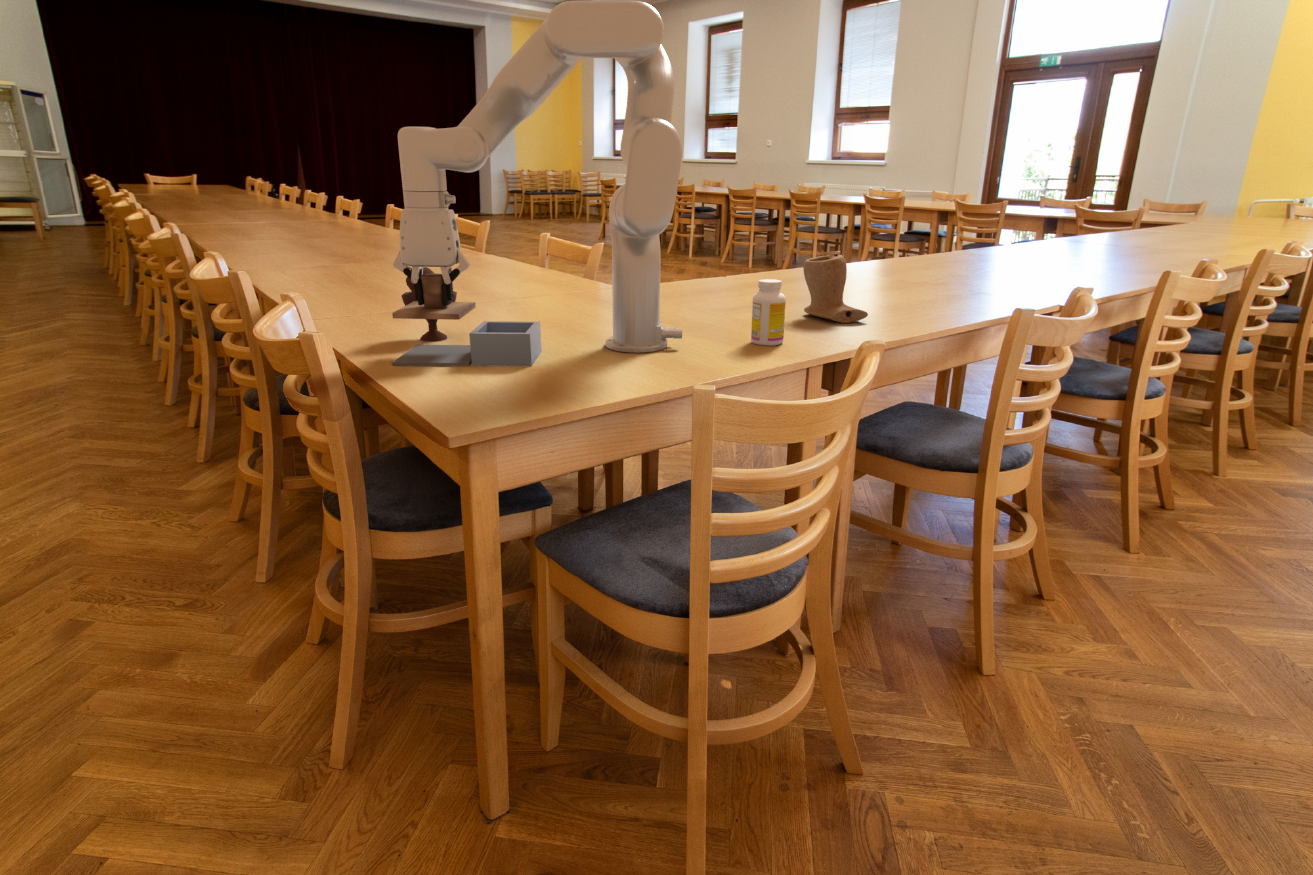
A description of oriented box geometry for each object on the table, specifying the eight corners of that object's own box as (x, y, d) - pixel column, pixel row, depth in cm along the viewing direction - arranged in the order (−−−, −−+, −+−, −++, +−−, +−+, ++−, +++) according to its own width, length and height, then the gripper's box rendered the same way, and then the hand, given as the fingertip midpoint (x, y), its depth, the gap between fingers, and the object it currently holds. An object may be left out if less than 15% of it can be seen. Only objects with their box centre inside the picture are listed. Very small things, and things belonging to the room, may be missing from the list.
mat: (486, 348, 148) (486, 345, 148) (468, 366, 135) (468, 363, 135) (417, 347, 149) (416, 344, 148) (392, 365, 136) (392, 362, 135)
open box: (541, 351, 146) (540, 321, 144) (531, 366, 136) (529, 334, 134) (486, 351, 146) (483, 321, 144) (471, 365, 136) (469, 333, 134)
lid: (475, 307, 144) (473, 271, 142) (459, 319, 133) (456, 280, 131) (414, 306, 145) (410, 270, 142) (392, 318, 133) (388, 279, 131)
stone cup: (790, 314, 183) (795, 252, 178) (831, 311, 187) (837, 250, 182) (825, 327, 170) (830, 260, 164) (868, 323, 174) (875, 258, 168)
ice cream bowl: (446, 345, 150) (439, 270, 145) (396, 343, 152) (387, 268, 147) (469, 334, 160) (463, 264, 155) (422, 332, 162) (414, 262, 157)
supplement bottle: (786, 341, 156) (791, 279, 151) (777, 348, 150) (782, 284, 145) (756, 338, 158) (759, 277, 154) (746, 344, 153) (749, 281, 148)
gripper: (477, 201, 135) (484, 301, 142) (387, 200, 136) (397, 300, 142) (467, 203, 128) (474, 308, 135) (371, 202, 129) (383, 307, 135)
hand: (435, 303), depth 138 cm, fingers closed on lid, 4 cm apart
